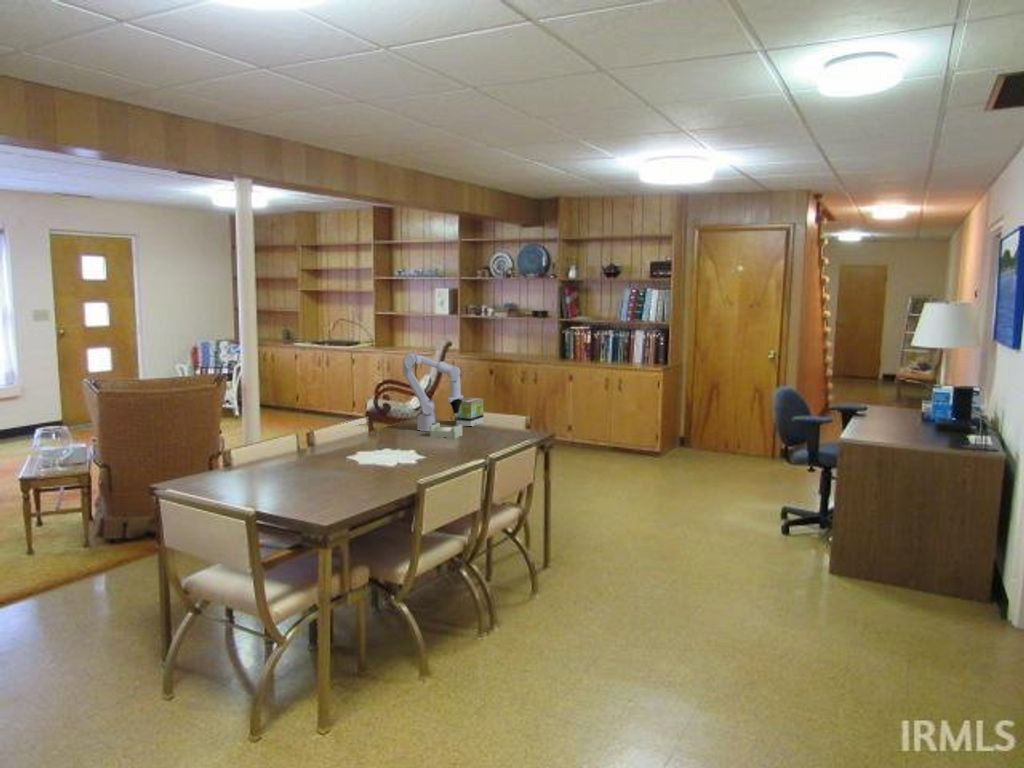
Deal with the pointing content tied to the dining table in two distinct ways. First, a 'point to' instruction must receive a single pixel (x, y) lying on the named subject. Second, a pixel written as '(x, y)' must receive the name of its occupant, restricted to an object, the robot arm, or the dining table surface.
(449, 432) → the roll cradle
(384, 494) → the dining table surface
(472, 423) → the tea box
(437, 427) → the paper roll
